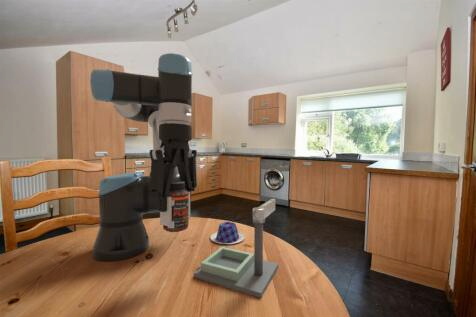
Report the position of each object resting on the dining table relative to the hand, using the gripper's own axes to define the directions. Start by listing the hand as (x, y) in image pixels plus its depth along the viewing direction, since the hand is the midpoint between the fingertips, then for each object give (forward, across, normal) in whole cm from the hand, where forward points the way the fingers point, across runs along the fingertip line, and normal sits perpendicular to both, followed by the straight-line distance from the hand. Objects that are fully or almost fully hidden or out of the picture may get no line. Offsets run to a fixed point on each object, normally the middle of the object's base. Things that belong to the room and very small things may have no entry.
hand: (175, 220), depth 52 cm
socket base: (+13, +8, -14) cm, 20 cm away
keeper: (0, +13, -18) cm, 23 cm away
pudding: (+14, +26, 0) cm, 29 cm away
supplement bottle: (+2, 0, 0) cm, 2 cm away
